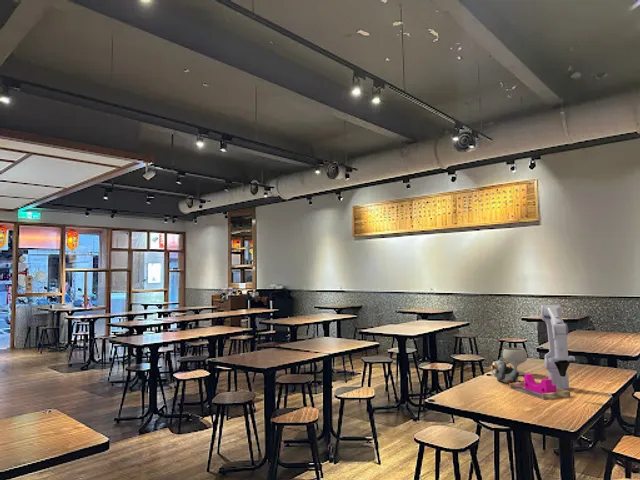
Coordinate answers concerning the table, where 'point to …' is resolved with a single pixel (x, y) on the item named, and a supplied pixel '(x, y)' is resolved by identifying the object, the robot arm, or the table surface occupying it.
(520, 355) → the chalice
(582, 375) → the table surface
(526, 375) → the toy block
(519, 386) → the wooden board
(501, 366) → the grey plush toy
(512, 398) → the table surface
